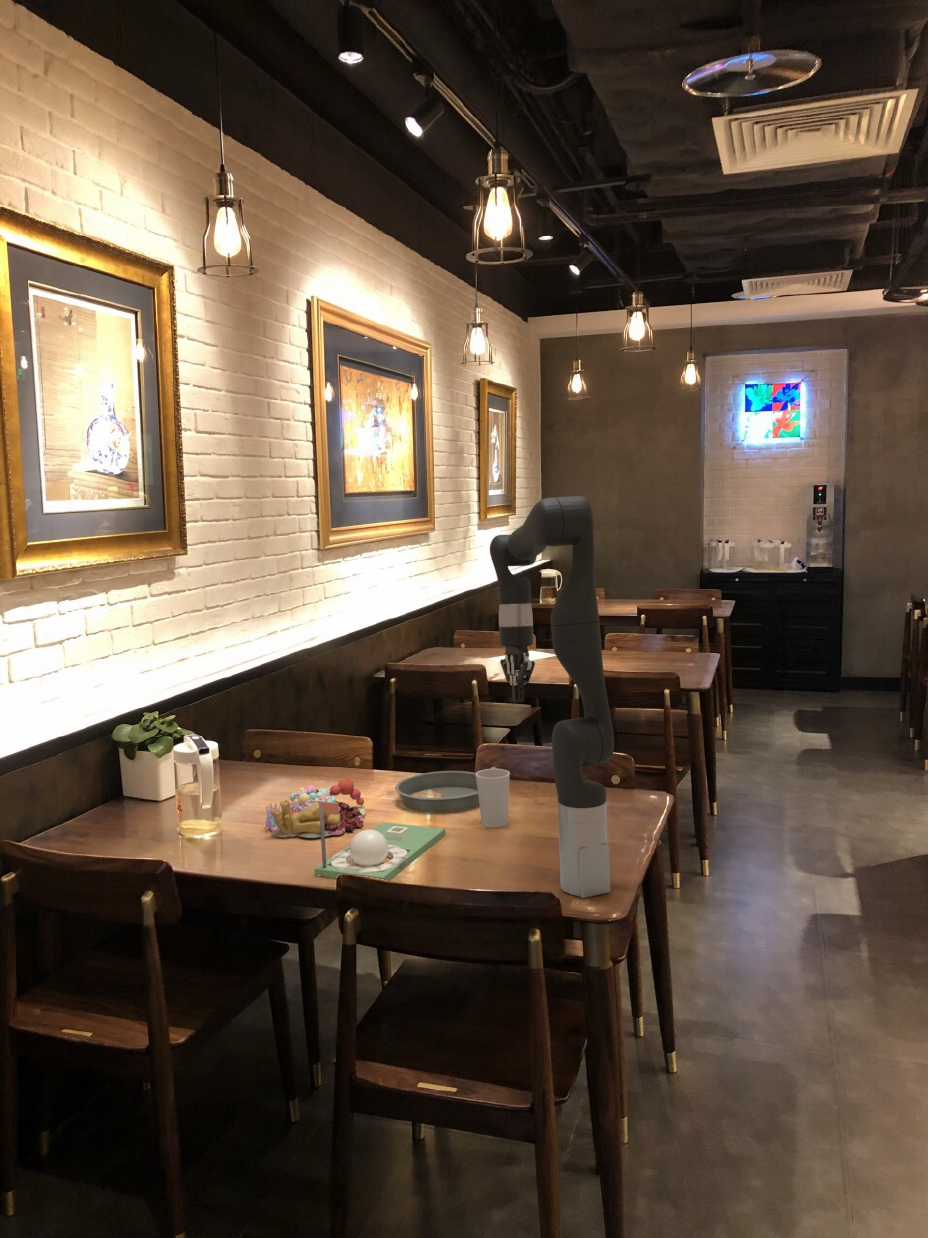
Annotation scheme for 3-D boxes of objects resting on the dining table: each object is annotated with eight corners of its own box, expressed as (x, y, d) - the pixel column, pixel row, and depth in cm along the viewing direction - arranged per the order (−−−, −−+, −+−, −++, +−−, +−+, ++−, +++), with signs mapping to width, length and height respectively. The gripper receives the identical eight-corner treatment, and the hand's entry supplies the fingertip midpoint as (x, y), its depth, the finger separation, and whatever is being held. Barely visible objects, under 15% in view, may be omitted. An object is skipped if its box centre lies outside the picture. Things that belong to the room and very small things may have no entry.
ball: (393, 846, 193) (395, 867, 199) (378, 816, 199) (381, 837, 204) (356, 861, 191) (359, 882, 197) (342, 830, 196) (346, 851, 202)
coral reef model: (364, 838, 217) (362, 799, 216) (260, 845, 215) (258, 806, 214) (366, 805, 242) (365, 769, 241) (273, 811, 240) (271, 775, 239)
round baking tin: (449, 781, 260) (448, 765, 259) (512, 799, 241) (511, 782, 241) (376, 802, 244) (375, 785, 243) (438, 823, 225) (437, 804, 225)
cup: (508, 829, 218) (506, 778, 216) (474, 828, 220) (472, 778, 218) (513, 818, 226) (512, 768, 224) (481, 817, 227) (479, 768, 226)
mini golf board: (383, 828, 222) (379, 764, 220) (445, 835, 216) (442, 768, 214) (314, 876, 195) (310, 802, 193) (383, 885, 188) (379, 809, 187)
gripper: (545, 624, 206) (547, 703, 206) (517, 623, 218) (519, 698, 218) (514, 625, 203) (516, 706, 203) (488, 624, 215) (490, 701, 215)
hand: (518, 702), depth 211 cm, fingers closed
